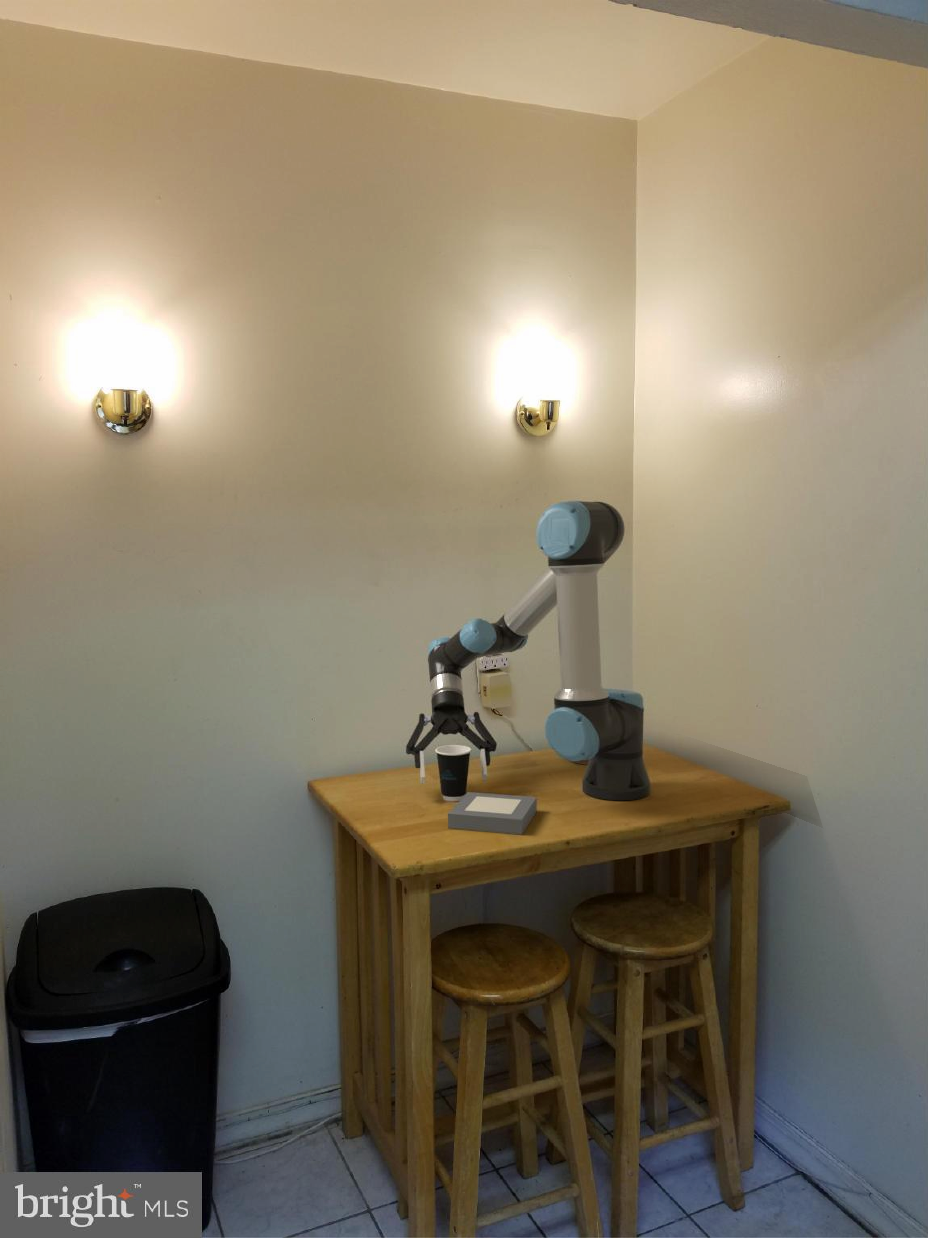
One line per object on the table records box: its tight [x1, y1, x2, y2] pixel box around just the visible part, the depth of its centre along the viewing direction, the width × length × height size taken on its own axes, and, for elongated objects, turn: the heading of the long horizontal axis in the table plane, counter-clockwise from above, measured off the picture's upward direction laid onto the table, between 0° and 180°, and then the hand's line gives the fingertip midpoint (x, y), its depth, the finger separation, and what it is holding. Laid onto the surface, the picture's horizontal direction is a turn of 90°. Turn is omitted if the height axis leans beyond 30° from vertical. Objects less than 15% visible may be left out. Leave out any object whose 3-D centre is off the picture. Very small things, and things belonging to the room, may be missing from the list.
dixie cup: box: [435, 744, 472, 802], centre depth 203 cm, size 8×8×11 cm
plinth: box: [447, 791, 538, 836], centre depth 189 cm, size 15×15×3 cm
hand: (454, 779), depth 201 cm, fingers open, 13 cm apart
